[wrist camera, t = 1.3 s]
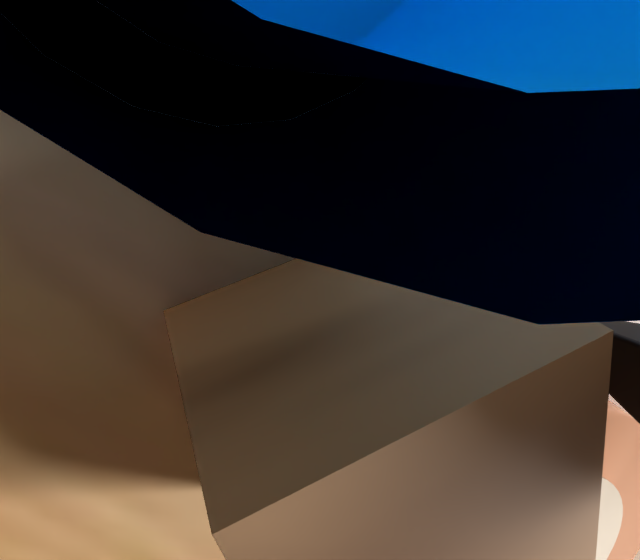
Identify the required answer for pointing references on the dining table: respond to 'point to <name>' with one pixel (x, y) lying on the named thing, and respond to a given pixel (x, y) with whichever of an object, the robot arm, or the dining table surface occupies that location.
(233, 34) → the mug
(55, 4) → the dining table surface
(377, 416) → the walnut block
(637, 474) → the terracotta dish
